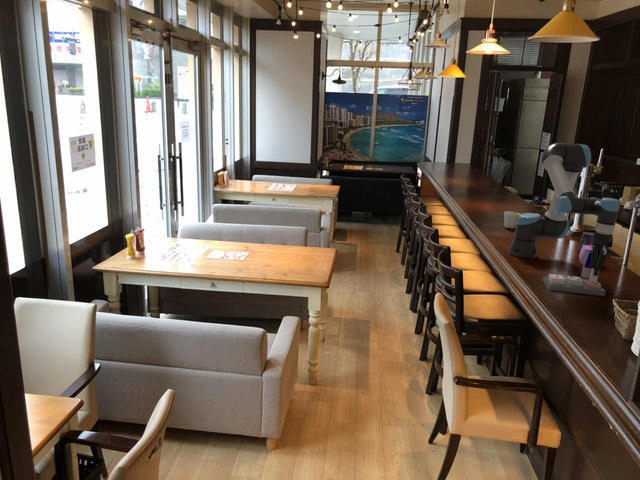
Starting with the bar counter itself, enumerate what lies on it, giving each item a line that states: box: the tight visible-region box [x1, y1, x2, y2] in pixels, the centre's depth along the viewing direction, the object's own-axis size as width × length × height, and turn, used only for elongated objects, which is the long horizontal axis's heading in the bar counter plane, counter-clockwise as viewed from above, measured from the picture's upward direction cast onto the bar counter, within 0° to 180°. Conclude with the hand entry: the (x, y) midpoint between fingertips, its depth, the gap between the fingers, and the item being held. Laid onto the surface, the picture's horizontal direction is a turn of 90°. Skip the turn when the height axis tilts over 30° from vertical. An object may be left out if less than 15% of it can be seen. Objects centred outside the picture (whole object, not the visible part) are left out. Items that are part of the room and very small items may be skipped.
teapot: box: [578, 245, 593, 265], centre depth 283 cm, size 18×10×10 cm, turn 162°
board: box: [542, 276, 607, 297], centre depth 241 cm, size 12×24×2 cm, turn 81°
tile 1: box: [547, 273, 566, 285], centre depth 241 cm, size 6×6×3 cm
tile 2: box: [565, 275, 584, 287], centre depth 240 cm, size 6×6×3 cm
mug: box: [503, 210, 521, 230], centre depth 351 cm, size 14×10×10 cm
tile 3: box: [583, 280, 602, 289], centre depth 240 cm, size 6×6×3 cm
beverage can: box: [577, 231, 595, 253], centre depth 301 cm, size 7×7×12 cm
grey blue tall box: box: [580, 250, 592, 281], centre depth 253 cm, size 5×5×15 cm
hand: (592, 281), depth 239 cm, fingers closed
